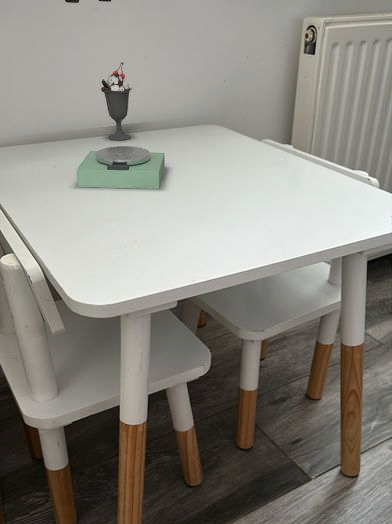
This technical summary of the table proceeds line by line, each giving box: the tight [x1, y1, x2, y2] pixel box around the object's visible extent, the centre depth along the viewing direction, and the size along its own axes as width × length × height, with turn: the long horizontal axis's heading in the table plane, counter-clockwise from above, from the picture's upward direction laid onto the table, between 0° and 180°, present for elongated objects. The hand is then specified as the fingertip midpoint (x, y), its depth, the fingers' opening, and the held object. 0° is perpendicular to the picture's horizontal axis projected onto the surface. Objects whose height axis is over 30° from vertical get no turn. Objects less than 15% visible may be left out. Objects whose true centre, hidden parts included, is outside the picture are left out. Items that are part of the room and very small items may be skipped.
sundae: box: [100, 61, 133, 141], centre depth 121 cm, size 7×7×15 cm
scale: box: [76, 150, 166, 190], centre depth 100 cm, size 14×12×4 cm
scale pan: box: [96, 145, 150, 165], centre depth 99 cm, size 10×10×1 cm
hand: (89, 1), depth 111 cm, fingers open, 9 cm apart
